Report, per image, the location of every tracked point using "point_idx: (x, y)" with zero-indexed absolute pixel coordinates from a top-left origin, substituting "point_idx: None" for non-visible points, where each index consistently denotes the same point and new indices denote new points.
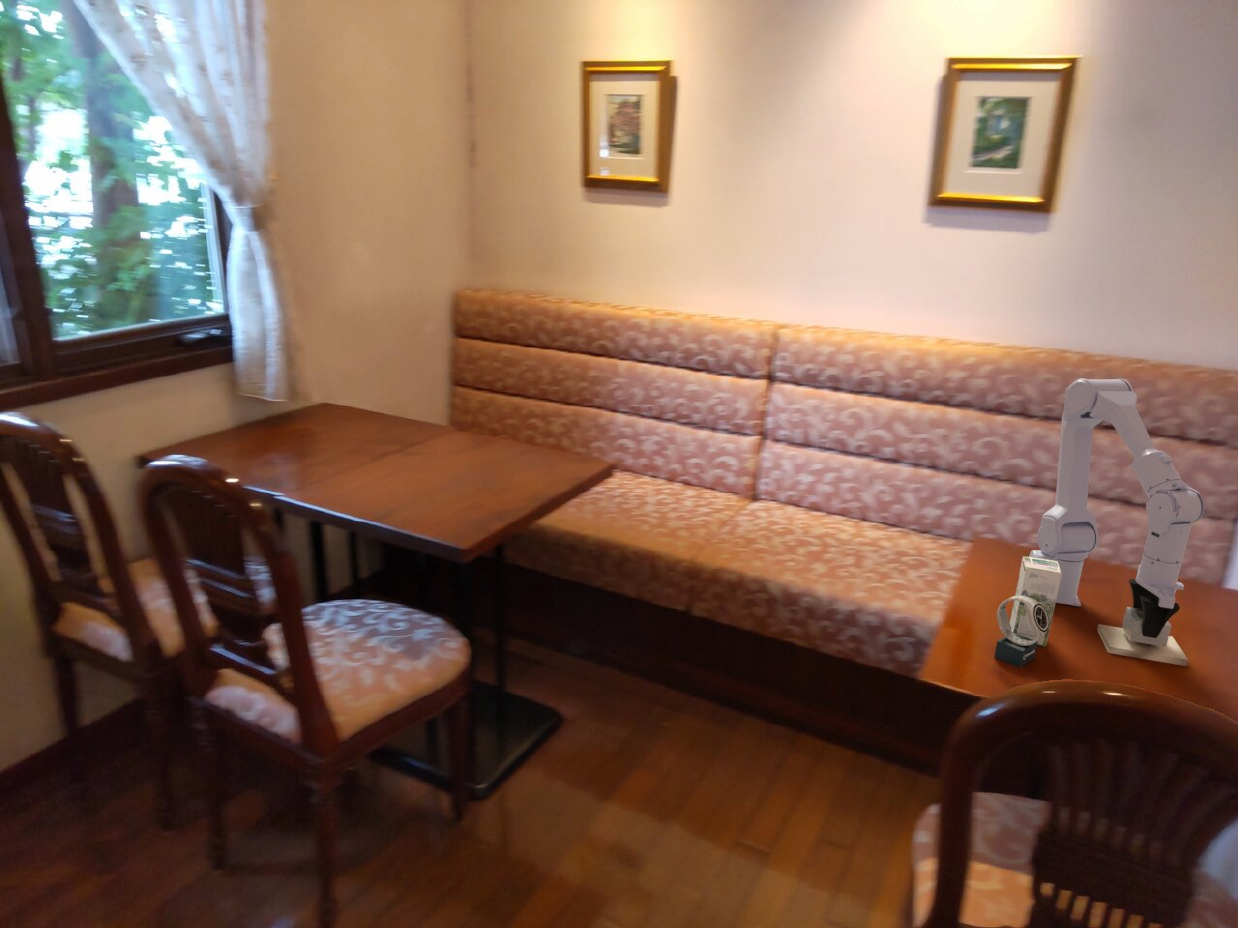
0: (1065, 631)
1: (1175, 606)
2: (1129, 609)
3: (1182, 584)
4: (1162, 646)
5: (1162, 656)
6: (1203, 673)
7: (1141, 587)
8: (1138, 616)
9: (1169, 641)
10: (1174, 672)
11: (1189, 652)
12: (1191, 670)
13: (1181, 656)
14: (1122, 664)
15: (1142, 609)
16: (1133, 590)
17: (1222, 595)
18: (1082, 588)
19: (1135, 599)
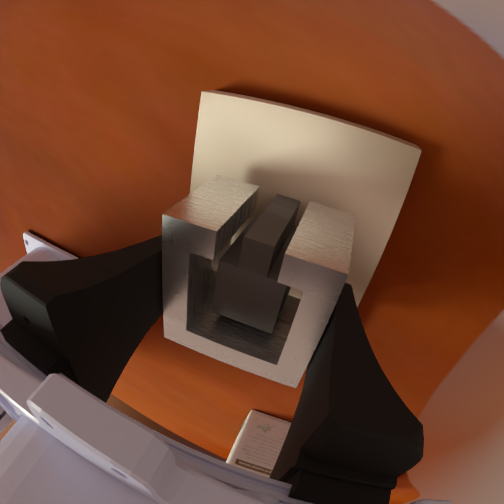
0: (225, 366)
1: (398, 458)
2: (188, 343)
3: (77, 441)
4: (308, 186)
5: (389, 234)
6: (465, 114)
7: (95, 380)
8: (199, 295)
9: (254, 129)
10: (458, 225)
11: (288, 56)
12: (446, 147)
13: (392, 158)
14: (398, 346)
15: (167, 294)
16: (114, 382)
17: None
18: (9, 200)
19: (137, 341)
